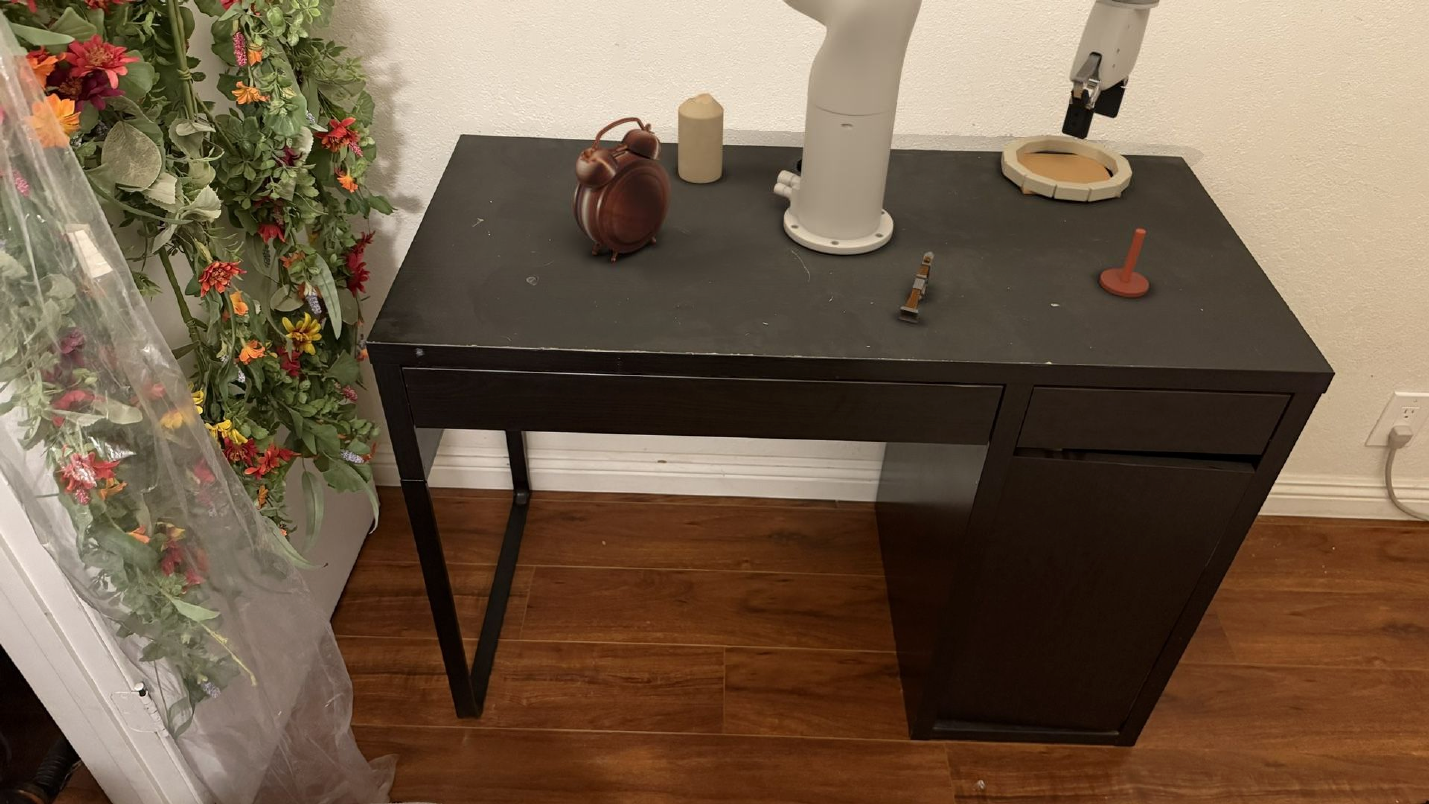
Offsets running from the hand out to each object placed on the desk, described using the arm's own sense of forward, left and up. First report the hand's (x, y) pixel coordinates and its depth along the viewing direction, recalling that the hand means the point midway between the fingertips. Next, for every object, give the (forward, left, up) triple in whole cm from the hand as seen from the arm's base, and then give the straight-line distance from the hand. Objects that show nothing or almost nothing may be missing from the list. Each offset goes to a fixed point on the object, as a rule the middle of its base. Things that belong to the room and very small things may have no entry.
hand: (1089, 125), depth 128 cm
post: (+17, -27, -5) cm, 32 cm away
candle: (-34, -37, -5) cm, 51 cm away
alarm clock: (-28, -57, -5) cm, 64 cm away
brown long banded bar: (+2, -45, -5) cm, 46 cm away
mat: (0, -6, -5) cm, 8 cm away
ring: (0, -6, -4) cm, 8 cm away
